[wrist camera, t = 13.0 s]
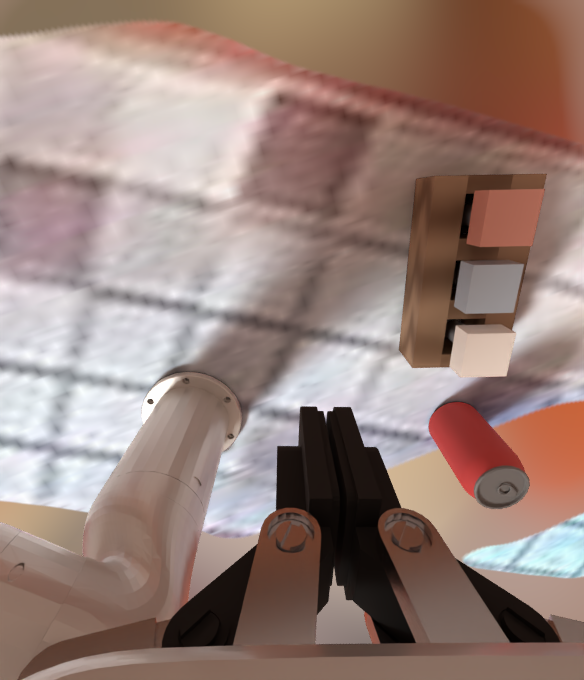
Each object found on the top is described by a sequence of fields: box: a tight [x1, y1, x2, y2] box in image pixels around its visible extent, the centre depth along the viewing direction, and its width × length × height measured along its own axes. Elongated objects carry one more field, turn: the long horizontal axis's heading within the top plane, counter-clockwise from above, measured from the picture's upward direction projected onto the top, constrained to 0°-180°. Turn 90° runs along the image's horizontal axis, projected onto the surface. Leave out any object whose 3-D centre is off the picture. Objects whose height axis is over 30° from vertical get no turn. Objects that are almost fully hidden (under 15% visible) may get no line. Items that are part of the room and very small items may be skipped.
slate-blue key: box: [453, 260, 524, 314], centre depth 35 cm, size 4×4×7 cm
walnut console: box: [399, 174, 547, 368], centre depth 38 cm, size 19×10×5 cm, turn 1°
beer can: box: [429, 402, 530, 509], centre depth 42 cm, size 7×7×12 cm
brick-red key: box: [461, 189, 545, 247], centre depth 32 cm, size 4×4×7 cm
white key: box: [445, 319, 516, 377], centre depth 36 cm, size 4×4×7 cm
